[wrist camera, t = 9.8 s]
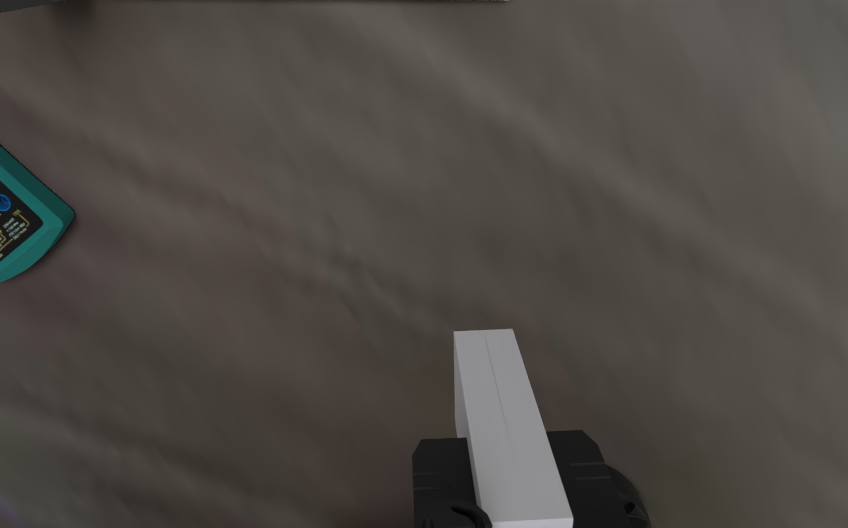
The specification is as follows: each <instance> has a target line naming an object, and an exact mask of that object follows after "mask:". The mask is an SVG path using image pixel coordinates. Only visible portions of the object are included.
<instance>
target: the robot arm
mask: <svg viewBox="0 0 848 528" xmlns="http://www.w3.org/2000/svg"><path fill="white" fill-rule="evenodd" d="M454 385H455V424H456V431H457V438H444V439H424V440H421V441H420V443H419V444H418V446H417V448H416V450H415V452H414V453H413V455H412V461H413V489H414V517H415V528H651V524H650V520H649V517H648V514H647V512H646V510H645V507H644V505H643V503H642V500H641V498H640V496H639V494H638V492H637V491H636V489H635V488H634V486H633V485H632V484H631V483H630V482H629V481H628V480H627V479H626V478H625V477H624V476H623V475H621V474H620V473H619V472H617V471H615V470H614V469H612V468H610V467H608V466H606V465H605V461H604V459H603V457H602V454H601V452H600V450H599V447H598V445H597V444H596V443H595V442H594V441H593V440H592V439H591V438H590V437H589V436H588V435H586V434H585V433H584V432H583V431H582V430H574V431H554V432H545V429H544V425H543V422H542V419H541V416H540V413H539V410H538V407H537V404H536V401H535V398H534V394H533V391H532V388H531V385H530V382H529V379H528V376H527V373H526V370H525V367H524V363H523V360H522V357H521V354H520V351H519V348H518V345H517V342H516V339H515V335H514V332H513V329H498V330H476V331H455V332H454Z"/></svg>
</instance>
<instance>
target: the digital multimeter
mask: <svg viewBox="0 0 848 528" xmlns="http://www.w3.org/2000/svg"><path fill="white" fill-rule="evenodd" d="M3 183H4V184H5V185H6V186H7V187H6V186H5V185H4V184H3ZM31 209H32V210H33V211H32V210H31ZM73 218H74V212H73V210H72V209H71V208H70V207H69V206H68V205H66V204H65V203H64V202H63V201H62V200H61V199H59V198H58V197H57V196H56V195H55V194H54V193H52V192H51V191H50V190H49V189H48V188H47V187H45V186H44V185H43V184H42V183H41V182H40V181H38V180H37V179H36V178H35V177H34V176H33V175H32V174H31V173H30V172H28V171H27V170H26V169H25V168H24V167H23V166H22V165H21V164H20V163H19V162H18V161H16V160H15V159H14V158H13V157H12V156H11V155H10V154H9V153H7V152H6V151H5V150H4V149H3V148H2V147H1V146H0V282H3V281H5V280H7V279H10V278H12V277H14V276H15V275H17V274H19V273H21V272H23V271H25V270H26V269H28V268H29V267H30V266H32V265H33V264H34V263H35V262H36V261H38V260H39V259H40V258H41V257H42V256H43V255H44V254H46V253H47V252H48V251H49V250H50V249H51V248H52V247H53V246H54V245H55V244H56V242H57V241H58V240H59V239H60V237H61V236H62V235H63V234H64V232H65V231H66V229H67V228H68V226H69V224H70V223H71V221H72V220H73Z"/></svg>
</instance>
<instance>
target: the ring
mask: <svg viewBox="0 0 848 528" xmlns="http://www.w3.org/2000/svg"><path fill="white" fill-rule="evenodd" d="M60 1H65V0H0V13H2V12H7V11H12V10H17V9H23V8H28V7H33V6H39V5H44V4H49V3H55V2H60Z"/></svg>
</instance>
